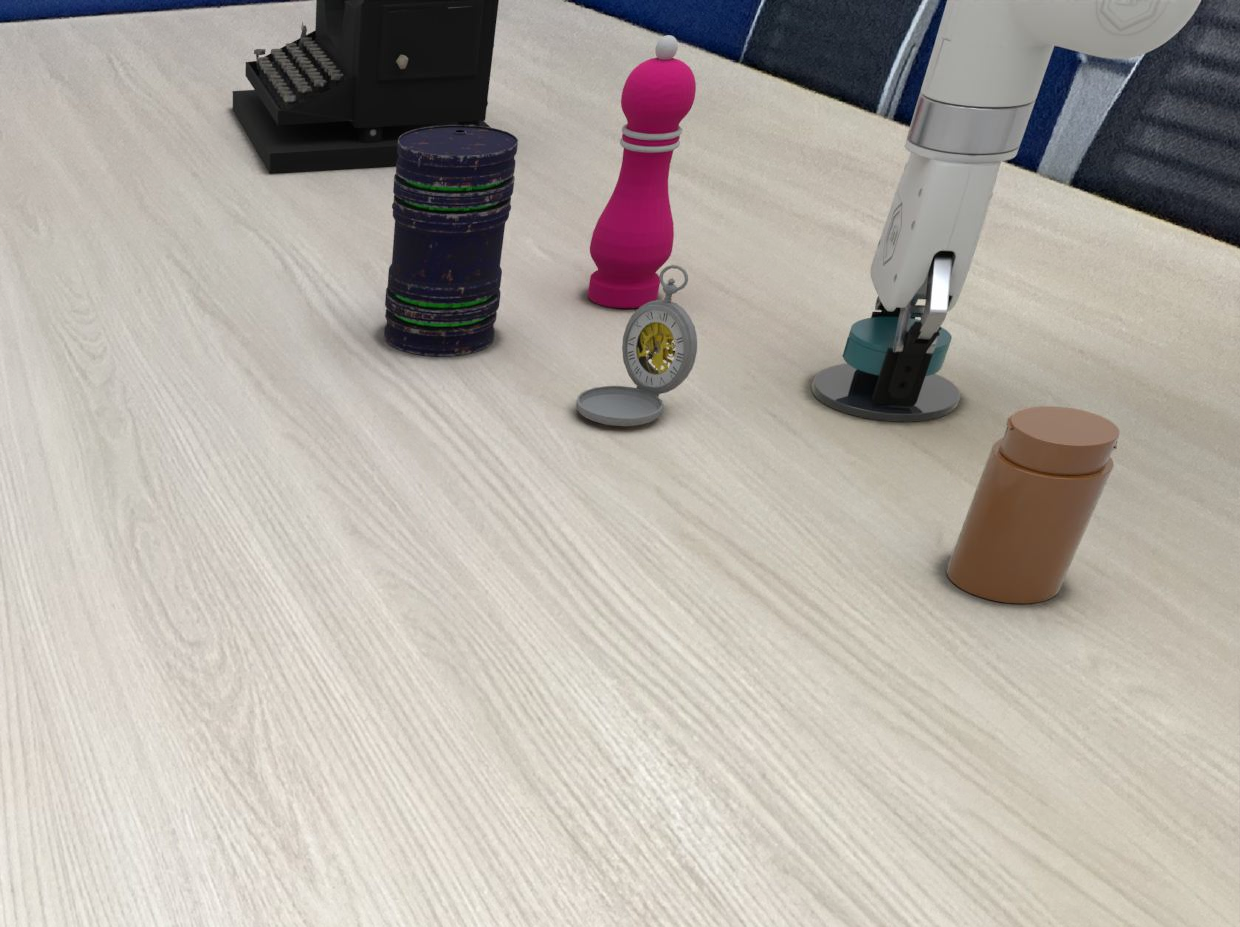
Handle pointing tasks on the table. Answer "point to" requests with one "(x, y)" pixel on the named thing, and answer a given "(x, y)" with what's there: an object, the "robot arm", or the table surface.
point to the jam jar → (1033, 504)
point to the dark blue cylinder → (448, 238)
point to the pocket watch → (647, 362)
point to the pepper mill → (642, 183)
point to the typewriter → (368, 81)
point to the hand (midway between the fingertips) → (885, 383)
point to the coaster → (856, 390)
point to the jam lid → (884, 344)
